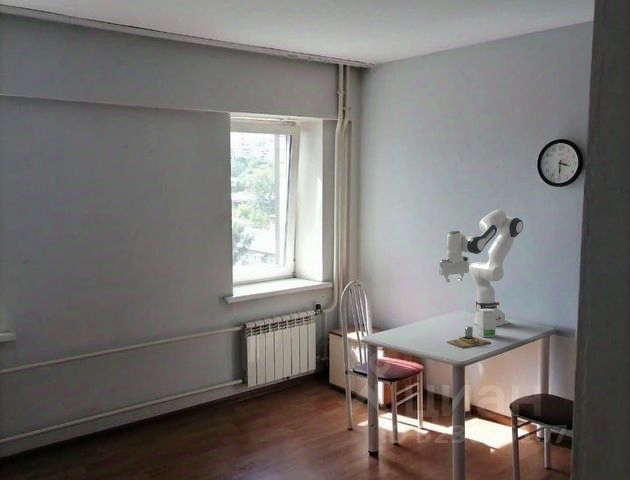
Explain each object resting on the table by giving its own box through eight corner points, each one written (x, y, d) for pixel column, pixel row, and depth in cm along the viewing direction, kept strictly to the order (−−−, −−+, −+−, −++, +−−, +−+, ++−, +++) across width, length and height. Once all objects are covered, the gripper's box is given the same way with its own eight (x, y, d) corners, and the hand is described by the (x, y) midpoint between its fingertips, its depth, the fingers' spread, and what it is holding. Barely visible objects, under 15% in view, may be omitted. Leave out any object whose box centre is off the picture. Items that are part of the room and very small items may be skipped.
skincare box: (482, 337, 344) (483, 311, 342) (477, 334, 350) (477, 308, 349) (496, 336, 345) (496, 310, 344) (490, 333, 352) (490, 308, 350)
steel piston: (469, 340, 335) (469, 326, 334) (474, 341, 331) (474, 327, 331) (463, 341, 333) (463, 327, 332) (468, 342, 330) (468, 328, 329)
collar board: (474, 338, 342) (474, 333, 342) (490, 343, 331) (490, 338, 331) (447, 342, 334) (447, 337, 333) (462, 348, 322) (462, 343, 322)
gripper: (443, 260, 344) (443, 283, 346) (470, 257, 353) (470, 280, 355) (436, 259, 350) (436, 282, 351) (463, 256, 359) (463, 279, 360)
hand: (454, 281), depth 353 cm, fingers open, 8 cm apart
